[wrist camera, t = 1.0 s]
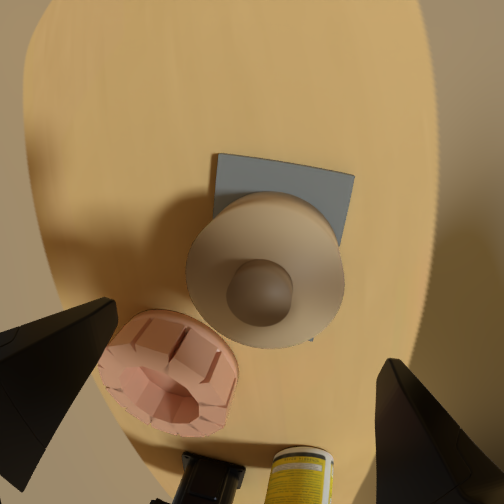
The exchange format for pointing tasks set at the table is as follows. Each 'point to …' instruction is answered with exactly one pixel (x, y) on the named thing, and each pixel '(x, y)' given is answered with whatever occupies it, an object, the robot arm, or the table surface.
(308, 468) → the supplement bottle
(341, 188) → the mat
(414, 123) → the table surface
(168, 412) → the pink notched ring
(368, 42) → the table surface
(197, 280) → the lid
